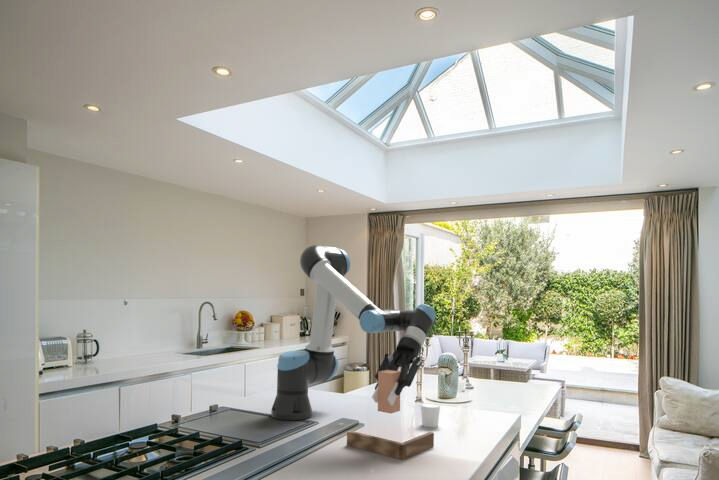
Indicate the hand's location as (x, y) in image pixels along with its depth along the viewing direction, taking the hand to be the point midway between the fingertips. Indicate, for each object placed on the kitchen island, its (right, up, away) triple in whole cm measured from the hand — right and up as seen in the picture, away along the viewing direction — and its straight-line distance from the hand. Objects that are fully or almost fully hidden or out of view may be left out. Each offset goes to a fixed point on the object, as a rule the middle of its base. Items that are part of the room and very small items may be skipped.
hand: (382, 401), depth 157 cm
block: (+2, -4, +3) cm, 5 cm away
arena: (+3, -14, +1) cm, 14 cm away
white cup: (+18, -17, +27) cm, 37 cm away
